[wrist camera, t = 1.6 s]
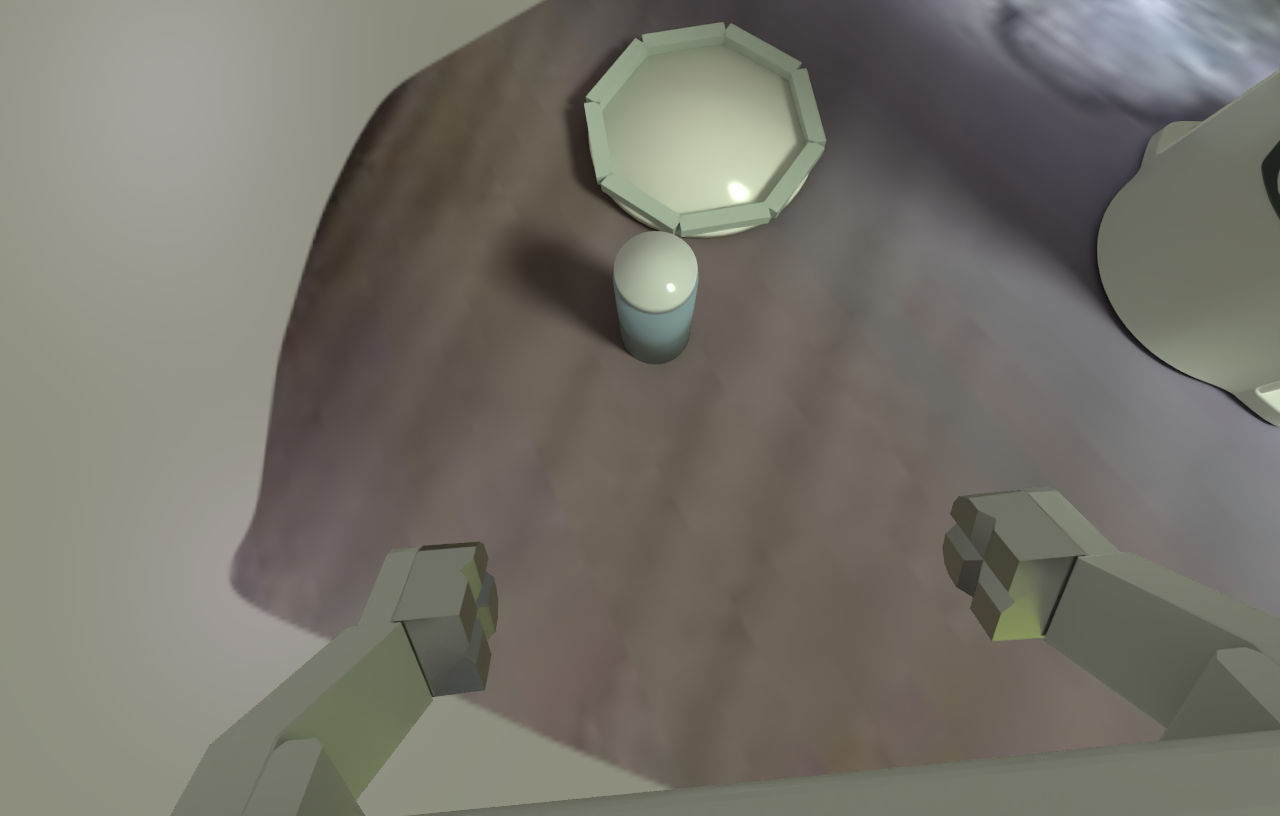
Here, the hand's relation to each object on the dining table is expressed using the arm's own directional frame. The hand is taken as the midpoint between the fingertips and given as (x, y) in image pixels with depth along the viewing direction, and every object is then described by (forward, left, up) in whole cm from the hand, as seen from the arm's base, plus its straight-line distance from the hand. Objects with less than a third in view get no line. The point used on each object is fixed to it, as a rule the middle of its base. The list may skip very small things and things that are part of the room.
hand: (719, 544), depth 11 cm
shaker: (-1, -12, -23) cm, 26 cm away
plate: (-6, -24, -22) cm, 34 cm away
